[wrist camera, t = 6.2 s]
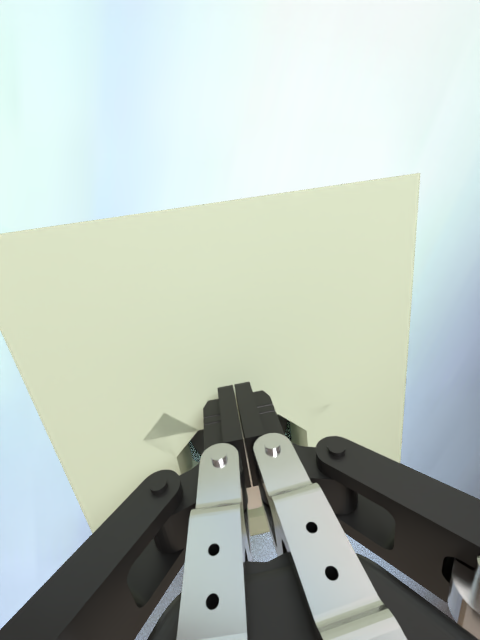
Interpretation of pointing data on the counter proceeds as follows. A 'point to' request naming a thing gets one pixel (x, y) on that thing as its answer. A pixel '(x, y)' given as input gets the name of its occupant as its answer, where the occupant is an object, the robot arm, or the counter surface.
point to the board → (213, 326)
